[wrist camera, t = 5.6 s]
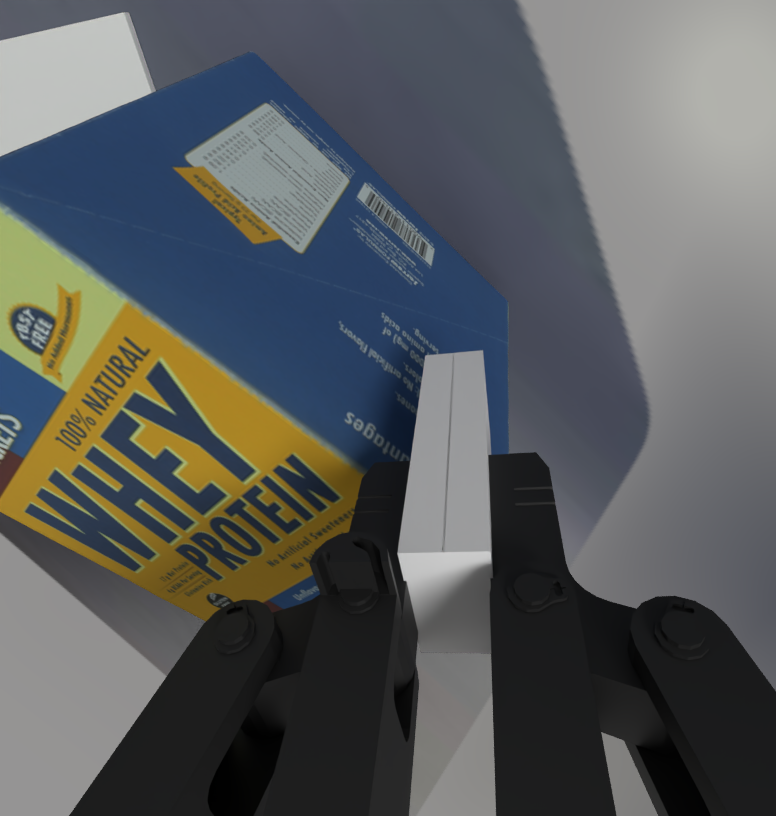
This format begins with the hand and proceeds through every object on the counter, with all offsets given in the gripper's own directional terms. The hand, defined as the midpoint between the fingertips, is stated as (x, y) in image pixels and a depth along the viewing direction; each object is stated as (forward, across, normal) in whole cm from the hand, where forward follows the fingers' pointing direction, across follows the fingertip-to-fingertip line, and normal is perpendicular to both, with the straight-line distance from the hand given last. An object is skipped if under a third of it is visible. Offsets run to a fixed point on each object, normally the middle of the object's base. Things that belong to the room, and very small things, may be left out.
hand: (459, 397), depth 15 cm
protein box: (+13, -7, 0) cm, 15 cm away
